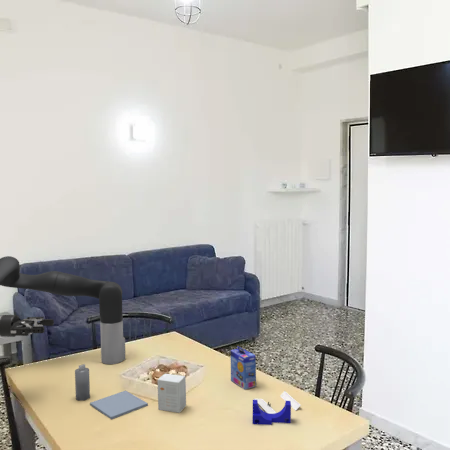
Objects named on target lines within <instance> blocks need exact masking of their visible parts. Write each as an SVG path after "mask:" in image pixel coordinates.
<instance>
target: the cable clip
mask: <svg viewBox="0 0 450 450" xmlns="http://www.w3.org/2000/svg"><path fill="white" fill-rule="evenodd" d="M284 402H285V403H284V405H283V407H282V409H281V410H279V411H278V412H277V413H275V414H269V413H267V412H266V411H265V410H264V409H263V410H262V407H261V406H260V405H259V404H258V401H257V400H254V399H252V425H262V426H264V425H265V426H270V425H271V426H272V424H273V423H277V424H279V423H280V424H291V423H292V420H291V419H292V407H291V402H290V401H284Z"/></svg>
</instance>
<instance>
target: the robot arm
mask: <svg viewBox="0 0 450 450" xmlns="http://www.w3.org/2000/svg"><path fill="white" fill-rule="evenodd" d="M20 269H21V264H20V261H19V260H18V259H17V258H16V257H14V256H8V255H7V256H3V257H0V287H1V286H2V287H6V288H12V289H13V288H15V289H25V290H32V291H38V292H45V293H48V294H53V295H58V296H63V297H64V296H65V297H90V298H94V299H98V303H99V305H98V306H99V318H100V319H99V321H100V322H99V323H100V324H99V325H100V353H101V354H100V359H101V360H100V361H101V363H102V364H105V365H115V364H120V363H121V362H123V361H124V360H126V338H125V337H124V322H123V321H124V320H123V319H124V318H123V317H124V315H123V289H122V286H121V285H120V284H118V283H117V282H115V281H109V280H108V281H106V280H99V279H98V280H97V279H90V278H87V277H83V276H80V275H77V274H76V275H75V274H71V273H66V272H62V271H57V270H51V271H46V272H43V273H39V274H27V273H21V270H20ZM54 325H55V321H54V319H52V318H44V316H27V317H26V318H23V319H21V318H20V317H19V315H17V314H0V338H4V337H5V338H14V337H17V336H18V337H19V336H20V337H21V336H22V337H28V336H29V335H32V334H44V333H45V327H50V326H51V327H53V326H54Z"/></svg>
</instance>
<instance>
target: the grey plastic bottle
mask: <svg viewBox="0 0 450 450" xmlns="http://www.w3.org/2000/svg"><path fill="white" fill-rule="evenodd" d="M74 381H75V382H74V384H75V400H76V401H86V400H89V399H90V397H91V392H90V391H91V387H90V369H89V367H86V364H85V363H83V364H79V365H78V367H77V368H76V369H75V370H74Z"/></svg>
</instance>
